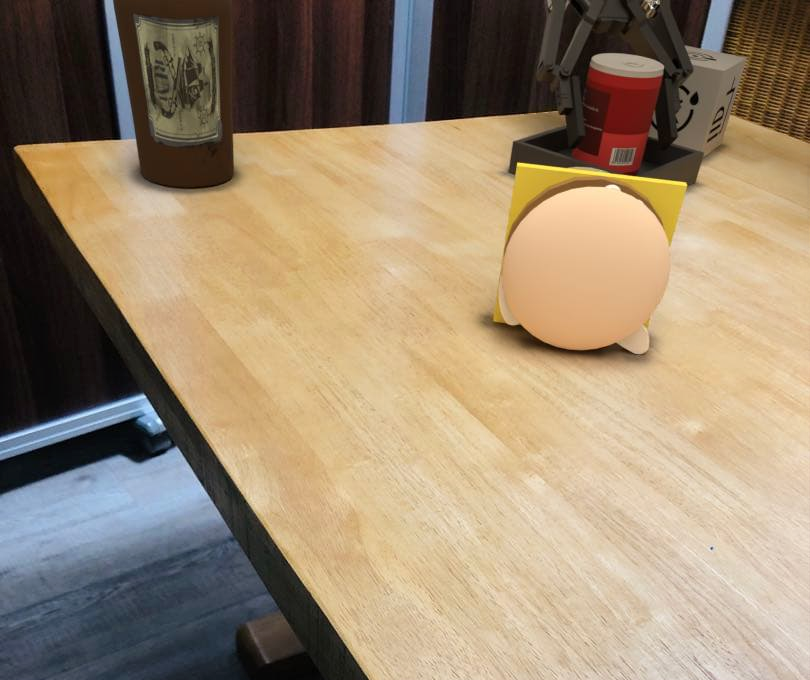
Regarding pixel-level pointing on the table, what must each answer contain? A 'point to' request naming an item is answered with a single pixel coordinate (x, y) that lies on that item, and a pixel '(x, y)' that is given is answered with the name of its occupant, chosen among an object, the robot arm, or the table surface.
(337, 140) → the table surface
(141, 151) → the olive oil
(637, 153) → the canned food
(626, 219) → the hamburger
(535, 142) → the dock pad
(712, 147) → the icon cube
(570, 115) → the robot arm
